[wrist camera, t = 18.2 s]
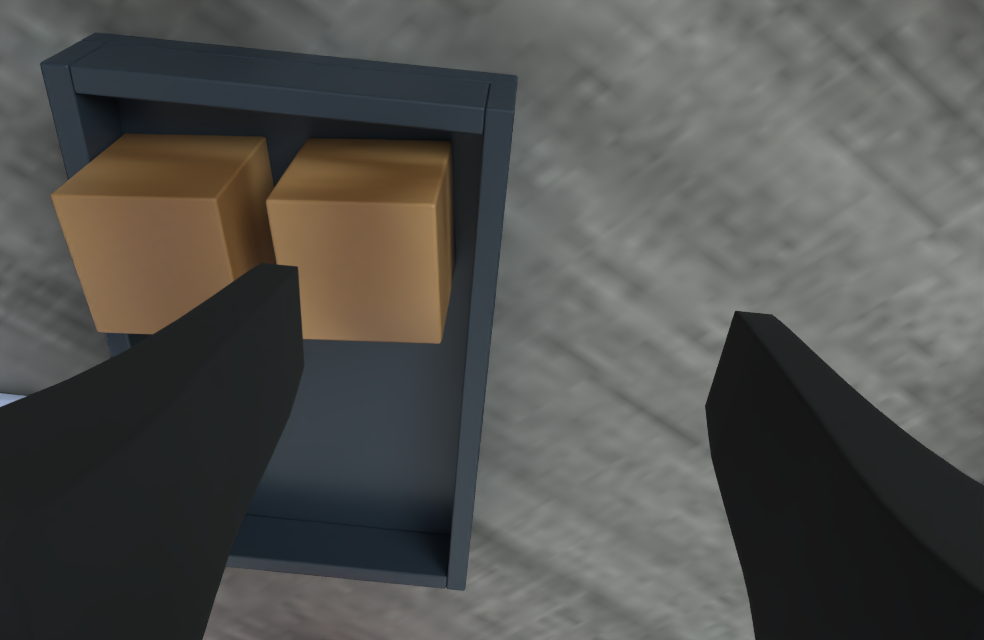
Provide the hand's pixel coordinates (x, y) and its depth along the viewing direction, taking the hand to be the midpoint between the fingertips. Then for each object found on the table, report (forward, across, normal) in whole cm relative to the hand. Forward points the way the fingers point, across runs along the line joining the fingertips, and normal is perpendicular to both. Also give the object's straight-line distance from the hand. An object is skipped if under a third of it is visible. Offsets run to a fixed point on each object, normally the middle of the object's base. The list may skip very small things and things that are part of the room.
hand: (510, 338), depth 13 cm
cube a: (+10, +9, +3) cm, 13 cm away
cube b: (+10, +4, +3) cm, 11 cm away
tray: (+10, +6, +8) cm, 14 cm away
